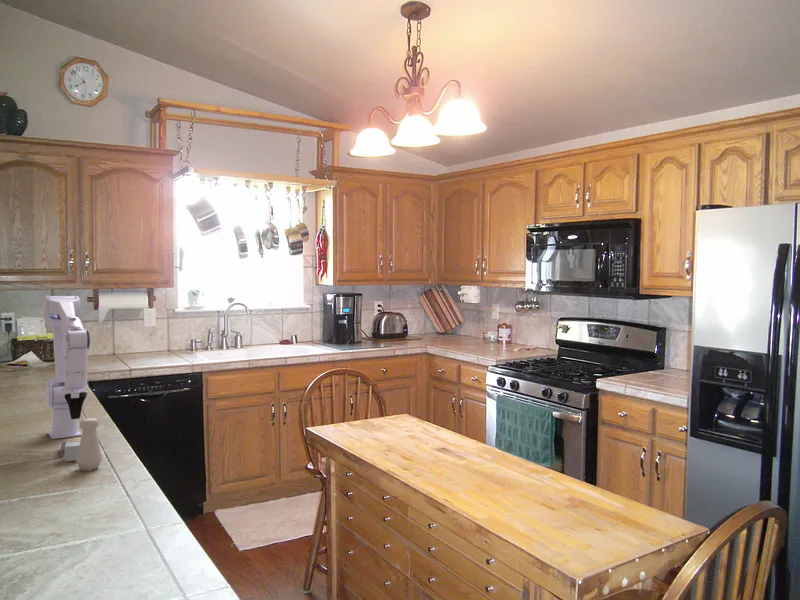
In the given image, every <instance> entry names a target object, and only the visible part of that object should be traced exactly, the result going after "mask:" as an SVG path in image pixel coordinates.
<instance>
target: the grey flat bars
mask: <svg viewBox="0 0 800 600" xmlns="http://www.w3.org/2000/svg"><path fill="white" fill-rule="evenodd" d="M66 443H67V441H66V440H64V441H61V446H60V449H59V450H60V452H59V454H60V455H59V457H60V458H64V457H63V456H65V445H66Z"/></svg>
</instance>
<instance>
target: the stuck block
mask: <svg viewBox="0 0 800 600" xmlns="http://www.w3.org/2000/svg"><path fill="white" fill-rule="evenodd" d="M79 446H80V441H73V442H72V441H71V442H66V445H65V457H64V462H75V461H76V460H77V455H78V450H79Z"/></svg>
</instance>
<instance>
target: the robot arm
mask: <svg viewBox="0 0 800 600" xmlns="http://www.w3.org/2000/svg"><path fill="white" fill-rule="evenodd" d="M42 299H43V300H42V313H43V314H42V315H43V317H42V318H43V321H44V324H45V325H47V326H49V327H50V330H51V332H52V341H53V356H54V357H53V358H54V368H55V376H53V377H52V378H51V379H49V380H48V381H47V384H46V388H45V390H46V391H45V401H46V405H47V406H48V407H49V408H51V413H50V430H47V434H48V436H49V437H50V438H51V439H52V440H56V439H62V438H64V439H65V438H71V437H81V436H82V432H80V431H79V419H80V418H81V415H82V408H83V404H84V402H85V400H86V398H87V396H88V392H87V390H88V389H89V386H88V350H90V347H91V334H90V330H89V329H87V328H84V324H83V322H82V320H81V319H80V318H79V314H80V311H81V299H80V297H79V296H78V295H45V296H44V297H43V298H42Z"/></svg>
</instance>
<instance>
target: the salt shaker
mask: <svg viewBox="0 0 800 600" xmlns="http://www.w3.org/2000/svg"><path fill="white" fill-rule="evenodd" d="M99 421H100V420H99V419H97V418H95V417H88V418H86V417H85V418H84V419H81V420H80V423H79V428H80V429H81V430H82V431H81V434H82V435H81V436H80V437H81V438H80V441H79V442H80V446H79V450H78V455H77V460H76V464H77V465H78V468H79V471H81V470H82V472H89V470H91V471H94V470H97V469H99V467H100V464H101V462H102V459H103V457H102V452H101V446H100V442H99V436H98V431H97V428H98V427H99V425H100V423H99ZM96 468H97V469H96Z"/></svg>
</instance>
